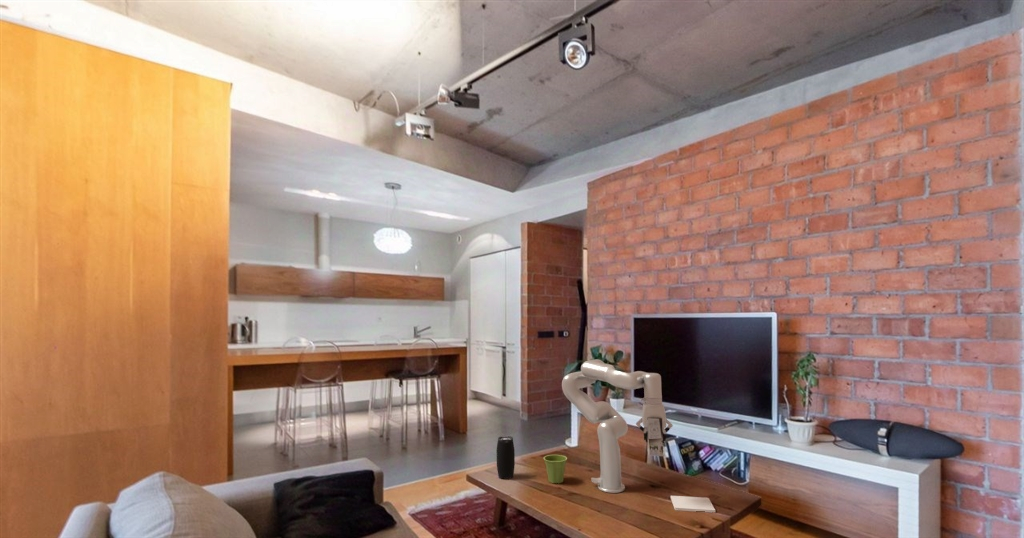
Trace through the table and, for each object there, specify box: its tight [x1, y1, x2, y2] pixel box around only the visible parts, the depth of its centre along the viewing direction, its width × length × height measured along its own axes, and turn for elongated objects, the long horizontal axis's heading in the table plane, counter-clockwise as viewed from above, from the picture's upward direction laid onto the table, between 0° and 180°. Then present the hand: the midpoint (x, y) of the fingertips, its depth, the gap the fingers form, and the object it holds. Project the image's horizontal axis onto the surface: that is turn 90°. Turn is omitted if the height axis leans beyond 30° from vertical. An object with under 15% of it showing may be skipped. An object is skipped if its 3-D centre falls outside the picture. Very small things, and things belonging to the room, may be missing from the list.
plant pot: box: [543, 454, 568, 484], centre depth 228 cm, size 12×12×11 cm
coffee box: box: [646, 417, 664, 457], centre depth 204 cm, size 9×6×16 cm
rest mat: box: [670, 495, 716, 513], centre depth 197 cm, size 16×13×1 cm
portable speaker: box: [496, 435, 516, 480], centre depth 235 cm, size 9×9×20 cm
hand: (654, 441), depth 204 cm, fingers closed on coffee box, 6 cm apart
